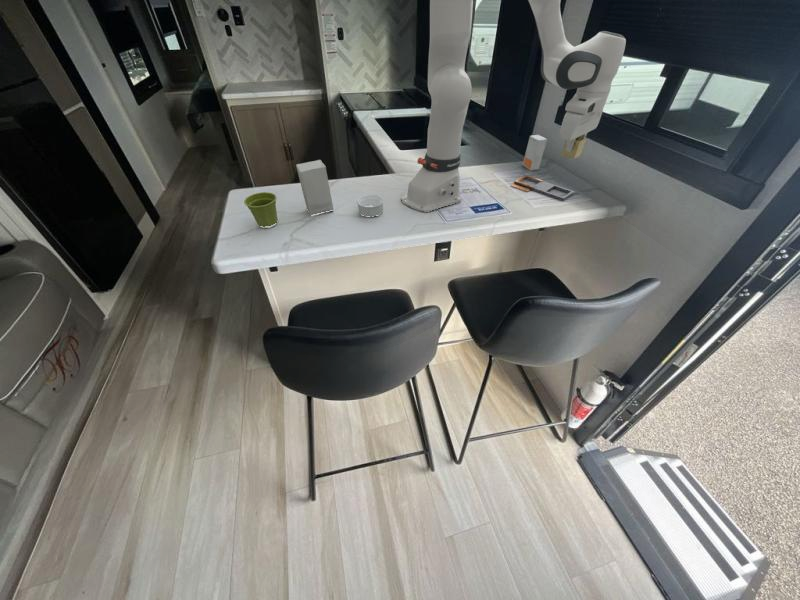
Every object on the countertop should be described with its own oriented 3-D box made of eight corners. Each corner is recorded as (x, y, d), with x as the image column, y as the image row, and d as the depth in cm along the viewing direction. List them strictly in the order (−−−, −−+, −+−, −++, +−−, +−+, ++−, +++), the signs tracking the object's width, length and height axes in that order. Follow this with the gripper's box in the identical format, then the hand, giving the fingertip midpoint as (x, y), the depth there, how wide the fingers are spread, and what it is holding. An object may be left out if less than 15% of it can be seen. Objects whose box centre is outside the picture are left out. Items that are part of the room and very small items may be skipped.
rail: (559, 203, 112) (560, 200, 112) (509, 185, 123) (510, 182, 122) (573, 194, 118) (574, 190, 117) (524, 177, 129) (525, 174, 128)
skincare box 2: (522, 165, 138) (529, 135, 129) (530, 164, 139) (538, 134, 130) (530, 170, 133) (538, 140, 125) (539, 169, 134) (547, 139, 126)
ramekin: (355, 209, 111) (353, 197, 108) (379, 204, 114) (378, 192, 111) (362, 221, 105) (361, 209, 102) (387, 216, 108) (387, 204, 105)
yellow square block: (573, 159, 106) (580, 140, 102) (561, 155, 109) (567, 137, 105) (580, 155, 109) (586, 137, 105) (567, 152, 111) (573, 133, 107)
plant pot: (288, 224, 104) (281, 199, 98) (261, 235, 99) (252, 209, 93) (274, 214, 109) (267, 189, 103) (248, 224, 104) (238, 198, 98)
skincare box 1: (329, 204, 114) (321, 158, 103) (334, 212, 110) (327, 166, 99) (305, 209, 111) (295, 163, 101) (310, 217, 107) (299, 170, 96)
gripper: (593, 94, 104) (577, 139, 114) (563, 104, 94) (548, 153, 104) (614, 97, 101) (595, 143, 111) (584, 108, 91) (567, 159, 101)
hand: (572, 148), depth 107 cm, fingers closed on yellow square block, 4 cm apart
